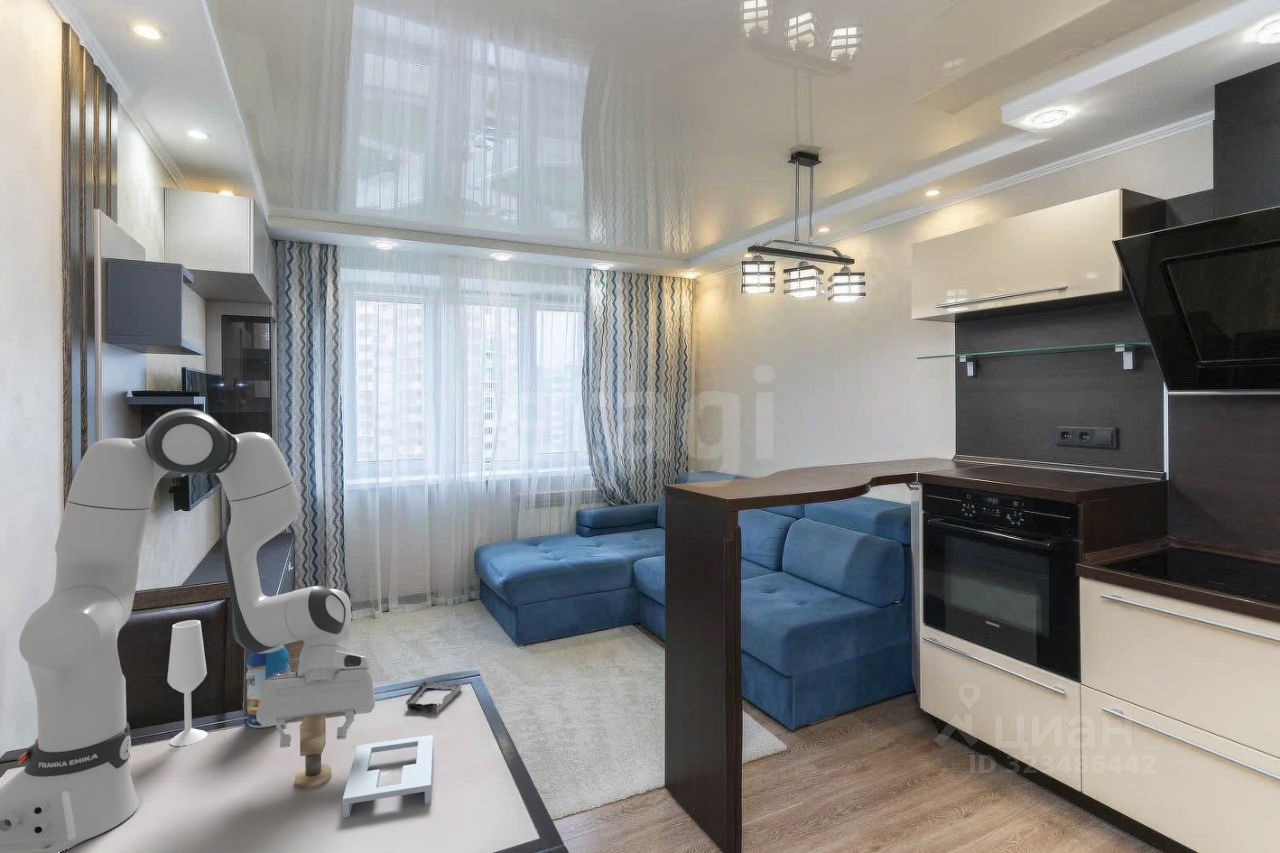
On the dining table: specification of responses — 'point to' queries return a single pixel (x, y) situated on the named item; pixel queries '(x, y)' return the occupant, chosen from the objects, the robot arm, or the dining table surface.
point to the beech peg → (312, 753)
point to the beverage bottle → (263, 677)
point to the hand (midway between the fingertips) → (313, 742)
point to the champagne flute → (187, 673)
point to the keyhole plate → (366, 782)
